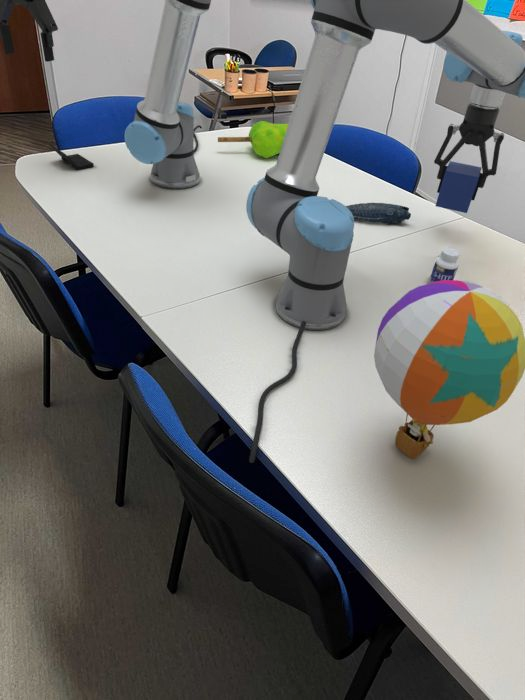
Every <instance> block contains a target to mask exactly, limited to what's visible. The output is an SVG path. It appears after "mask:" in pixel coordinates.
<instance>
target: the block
mask: <svg viewBox="0 0 525 700" xmlns="http://www.w3.org/2000/svg"><path fill="white" fill-rule="evenodd" d="M447 166H448V167H447V169H446V172H445V175H444V178H443V182H442V185H441V188H440V192H439V193H438V195H437V199H436V202H435V207H437V208H442V209H446V210H449V211H454V212H459V213H464V214H467V213H468V212H469V209H470V205H471V203H472V201H473V200H472V197H473V194H474V191H475V188H476V185H477V182H478V179H479V176H480V173H482V172H481V171H482V166H477V165H472V164H466V163H461V162H457V161H452V160H450V161H449V162H448V163H447Z"/></svg>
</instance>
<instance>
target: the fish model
mask: <svg viewBox="0 0 525 700" xmlns="http://www.w3.org/2000/svg"><path fill="white" fill-rule="evenodd" d="M345 206H346V207H347V208H348V209H349V210H350V211H351V213H352V215H353V217H354V221H359V222H366V223H382V224H386V225H391V224H393V223H398V224H402V222H403V221H408V220H410V218H411V216H412V213H410V211H409V210H410V207H408V206H404V205H399V204H393V203H386V202H385V203H384V202H365V203H364V202H363V203H361V202H360V203H355V204H349V205H345Z"/></svg>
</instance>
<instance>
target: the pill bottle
mask: <svg viewBox="0 0 525 700" xmlns="http://www.w3.org/2000/svg"><path fill="white" fill-rule="evenodd" d="M460 254H461V253H460V251H459V250H457V249H455V248H453V247H444V248H442V250H441V252H440V255H439V256H437V257H436V259H435V260H434V261H435V262H434V264H433V267H432V271H431V274H430V276H429V279H428V284H429V283H432V282H436V281H441V280H455V277H456V274H457V272H458V268H459V261H458V260H459V257H460Z"/></svg>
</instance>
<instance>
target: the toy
mask: <svg viewBox="0 0 525 700" xmlns="http://www.w3.org/2000/svg"><path fill="white" fill-rule="evenodd" d="M373 358H374V359H373V360H374V367H375V369H376V371H377V374H378V376H379V379H380V381H381V383H382V385H383V388H384V390H385V392H386V393H387V394H388V395H389V396H390V398H391V399H392V400H393V401H394V402H395V404H396V405H397V406H398V407H400V408H401V409H402V410H403V411H404V412H405V413H406V417H405V422H404V425H400V426H398V431H397V432H396V435H395V440H394V446H395V447H396V449H398V450H399V451H400V452H401V453H402V454H404V455H406V456H407V457H408V458H409V459H410V460H416V459H417V458H418V457H419V456H421V454H423V453H424V452H425V451H427V449H428V448H429V447H430V445H433V443H434V442H433V440H434V438H435V437H434V433H433V432H432V430H433V429H434V427H435V426H444V425H445V426H446V425H458V424H466V423H472V422H474V421H475V420H478V419H480V418H482V417H484V416H486V415H489V414H491V413H493V412H495V411H497V410H498V409H500V408H501V407H502V406H503V405H504V404H506V403H507V402H508V400H509V399H510V397H511V396H512V394H513V393H514V391H515V390H516V388H517V387H518V385H519V383H520V382H521V380H522V379H523V376H524V373H525V334H524V329H523V325H522V323H521V321H520V319H519V317H518V315H517V313H516V312H515V311H513V309H512V308H511V307H510V305H508V304H507V302H506V301H505V300H504V299H503V298H502V297H501V296H500V295H498V294H497V293H495V292H493V291H492V290H490V289H488V288H486V287H484V286H482V285H479V284H476V283H474V282H470V281H465V280H458V279H456V280H455V279H453V280H441V281H436V282H432V283H429V282H428V283H426V284H422V285H419V286H417V287H414V288H413V289H410V290H409V291H408V292H407V293H405V294H404V295H403V296H402V297H401V298H400V299H398V300H397V301H396V302H395V303H394V304H393V305H392V306H391V307H389V309H388V310H387V311H386V313H385V314H384V316H383V317H382V319H381V321H380V324H379V326H378V329H377V335H376V340H375V347H374V353H373ZM408 417H410V418H411V420H410V421H409V422H408ZM428 426H432V427H431V428H430V429H428Z"/></svg>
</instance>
